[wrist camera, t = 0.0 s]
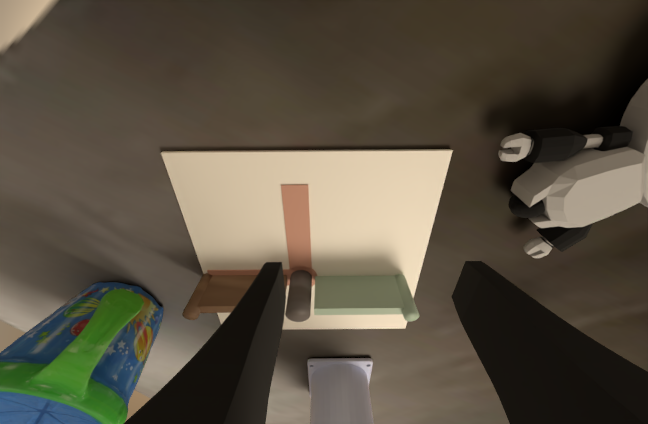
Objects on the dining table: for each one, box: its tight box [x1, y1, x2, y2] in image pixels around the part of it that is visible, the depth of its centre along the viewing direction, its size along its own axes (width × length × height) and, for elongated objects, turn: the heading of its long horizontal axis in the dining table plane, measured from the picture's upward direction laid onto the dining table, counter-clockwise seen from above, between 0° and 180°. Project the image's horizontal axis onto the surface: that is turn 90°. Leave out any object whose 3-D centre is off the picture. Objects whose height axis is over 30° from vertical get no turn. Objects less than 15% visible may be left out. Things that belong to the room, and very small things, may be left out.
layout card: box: [161, 149, 453, 329], centre depth 23 cm, size 20×20×1 cm
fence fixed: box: [182, 270, 312, 322], centre depth 22 cm, size 2×10×4 cm, turn 90°
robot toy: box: [498, 79, 648, 258], centre depth 16 cm, size 12×4×15 cm
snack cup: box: [0, 282, 163, 424], centre depth 22 cm, size 16×11×10 cm
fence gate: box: [314, 274, 419, 321], centre depth 22 cm, size 1×8×4 cm, turn 90°
